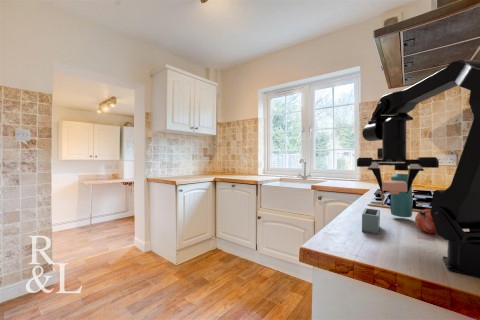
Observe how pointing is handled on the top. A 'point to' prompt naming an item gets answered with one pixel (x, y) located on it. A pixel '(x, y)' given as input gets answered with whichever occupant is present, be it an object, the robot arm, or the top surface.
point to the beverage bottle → (401, 196)
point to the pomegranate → (425, 221)
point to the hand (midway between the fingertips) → (394, 192)
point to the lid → (394, 186)
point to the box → (371, 221)
